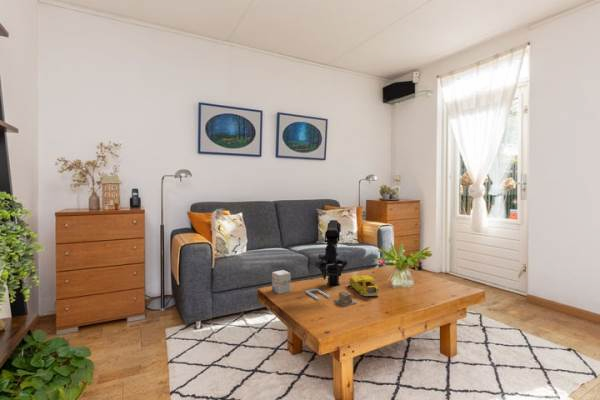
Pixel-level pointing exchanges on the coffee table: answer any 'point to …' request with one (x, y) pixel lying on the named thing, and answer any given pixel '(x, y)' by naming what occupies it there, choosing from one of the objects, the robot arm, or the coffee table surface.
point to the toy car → (364, 285)
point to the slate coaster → (343, 303)
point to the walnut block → (345, 297)
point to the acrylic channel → (316, 292)
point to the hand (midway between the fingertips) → (331, 278)
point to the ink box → (281, 281)
